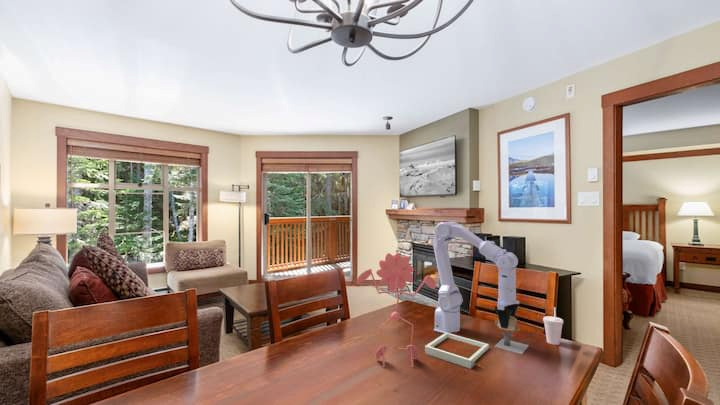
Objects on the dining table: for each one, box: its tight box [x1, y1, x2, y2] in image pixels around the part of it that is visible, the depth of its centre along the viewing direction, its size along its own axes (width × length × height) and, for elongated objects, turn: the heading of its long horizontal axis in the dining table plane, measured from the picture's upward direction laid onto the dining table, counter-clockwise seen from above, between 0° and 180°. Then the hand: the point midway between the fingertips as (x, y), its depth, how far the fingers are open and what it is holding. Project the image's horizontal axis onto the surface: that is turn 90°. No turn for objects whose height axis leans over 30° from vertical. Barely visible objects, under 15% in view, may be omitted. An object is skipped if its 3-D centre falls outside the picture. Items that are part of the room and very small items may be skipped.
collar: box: [493, 316, 521, 332], centre depth 117 cm, size 8×6×4 cm
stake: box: [494, 330, 529, 355], centre depth 116 cm, size 9×9×5 cm
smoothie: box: [542, 306, 564, 346], centre depth 119 cm, size 6×6×14 cm
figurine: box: [356, 252, 437, 368], centre depth 110 cm, size 15×26×35 cm, turn 92°
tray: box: [424, 333, 490, 369], centre depth 113 cm, size 16×16×2 cm
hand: (507, 325), depth 117 cm, fingers closed on collar, 6 cm apart
